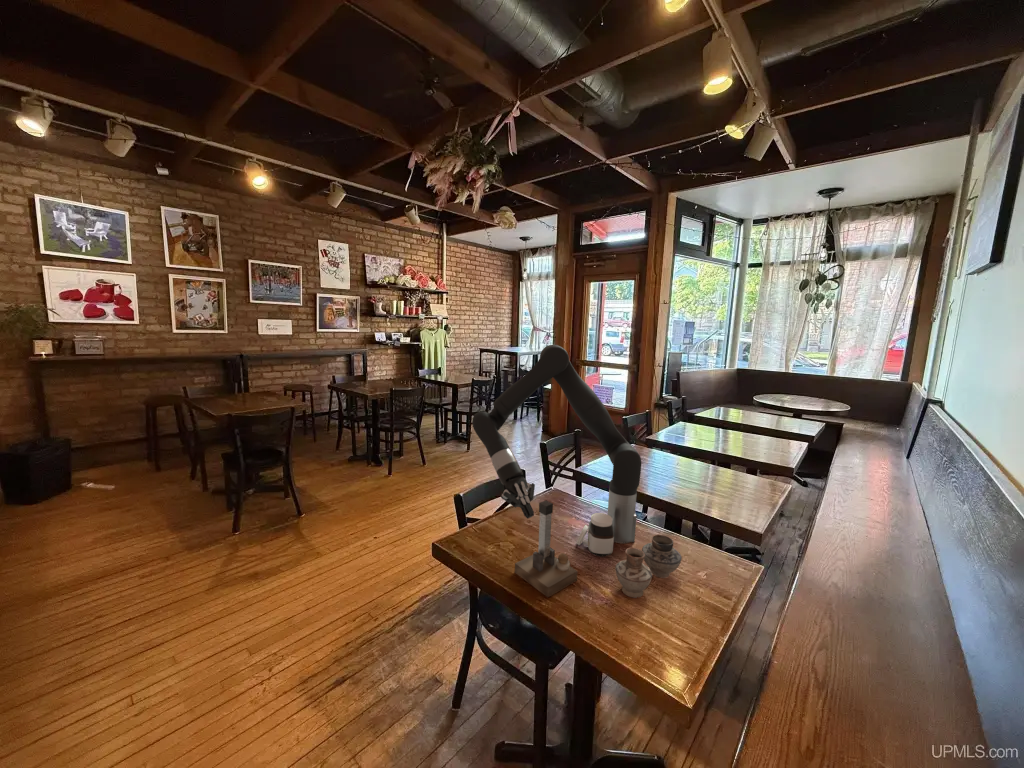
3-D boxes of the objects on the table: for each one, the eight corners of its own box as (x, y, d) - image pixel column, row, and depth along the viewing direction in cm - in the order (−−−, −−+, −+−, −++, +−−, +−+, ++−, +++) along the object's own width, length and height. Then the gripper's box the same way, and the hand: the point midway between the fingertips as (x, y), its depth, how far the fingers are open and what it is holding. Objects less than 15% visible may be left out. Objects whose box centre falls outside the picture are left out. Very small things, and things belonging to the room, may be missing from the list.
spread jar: (615, 559, 130) (617, 525, 128) (579, 559, 130) (581, 525, 128) (606, 539, 142) (608, 508, 140) (573, 539, 141) (575, 507, 140)
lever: (537, 558, 121) (539, 502, 118) (543, 554, 122) (546, 500, 120) (543, 562, 118) (546, 506, 116) (550, 559, 120) (552, 503, 117)
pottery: (605, 588, 116) (607, 549, 114) (653, 557, 132) (656, 522, 130) (640, 610, 107) (643, 569, 105) (686, 574, 123) (690, 537, 121)
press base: (514, 572, 122) (515, 549, 121) (543, 558, 130) (544, 536, 128) (547, 597, 111) (548, 572, 110) (577, 580, 119) (578, 556, 118)
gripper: (495, 465, 124) (520, 518, 117) (527, 456, 132) (552, 506, 125) (484, 476, 129) (508, 528, 122) (516, 467, 137) (540, 515, 130)
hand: (530, 516), depth 123 cm, fingers closed
